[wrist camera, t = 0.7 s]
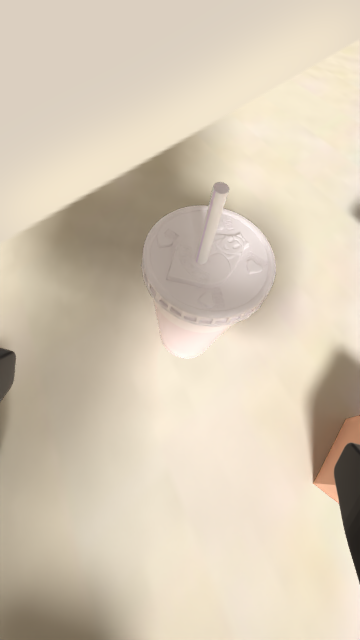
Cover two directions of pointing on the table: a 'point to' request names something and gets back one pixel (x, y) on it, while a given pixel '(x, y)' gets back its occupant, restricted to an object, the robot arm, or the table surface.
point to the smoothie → (205, 273)
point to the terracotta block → (337, 456)
